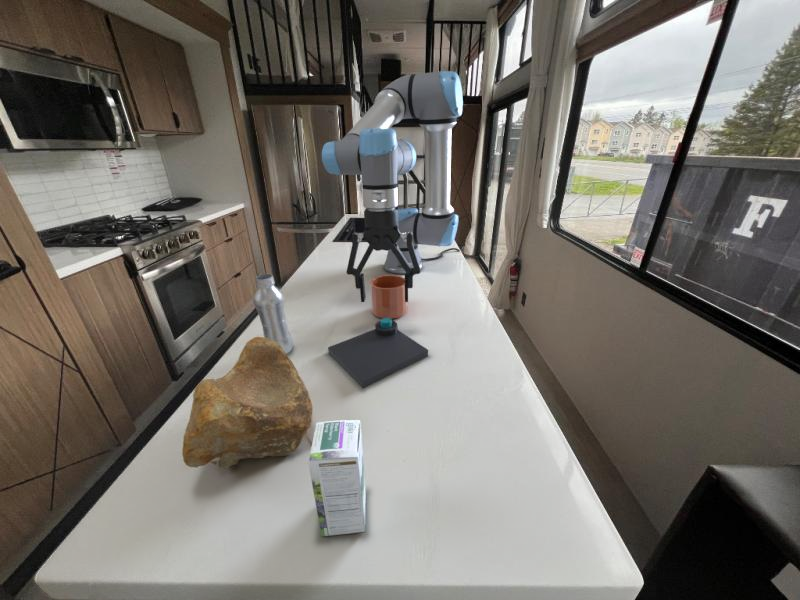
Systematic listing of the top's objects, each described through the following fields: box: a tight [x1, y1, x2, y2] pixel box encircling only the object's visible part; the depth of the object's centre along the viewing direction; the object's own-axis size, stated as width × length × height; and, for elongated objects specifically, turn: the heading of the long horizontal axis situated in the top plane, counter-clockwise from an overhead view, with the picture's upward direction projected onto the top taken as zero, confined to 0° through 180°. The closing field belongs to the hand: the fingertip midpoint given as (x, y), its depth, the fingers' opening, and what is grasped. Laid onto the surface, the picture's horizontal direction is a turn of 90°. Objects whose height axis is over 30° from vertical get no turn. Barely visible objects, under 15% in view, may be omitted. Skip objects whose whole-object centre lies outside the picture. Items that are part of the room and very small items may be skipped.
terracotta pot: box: [369, 274, 408, 320], centre depth 95 cm, size 10×10×10 cm
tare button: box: [380, 318, 393, 329], centre depth 83 cm, size 3×3×2 cm
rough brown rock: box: [181, 336, 313, 470], centre depth 54 cm, size 23×17×15 cm
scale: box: [327, 319, 429, 390], centre depth 77 cm, size 18×16×4 cm
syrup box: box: [307, 419, 367, 537], centre depth 41 cm, size 6×6×14 cm
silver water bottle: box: [252, 273, 294, 355], centre depth 75 cm, size 6×7×20 cm
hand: (384, 299), depth 80 cm, fingers open, 10 cm apart
